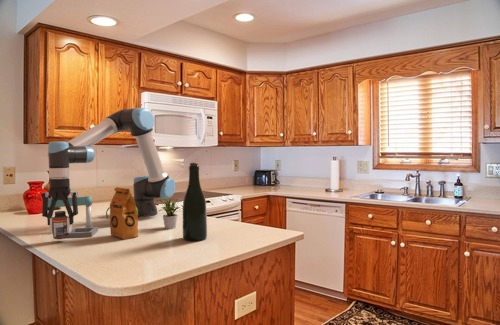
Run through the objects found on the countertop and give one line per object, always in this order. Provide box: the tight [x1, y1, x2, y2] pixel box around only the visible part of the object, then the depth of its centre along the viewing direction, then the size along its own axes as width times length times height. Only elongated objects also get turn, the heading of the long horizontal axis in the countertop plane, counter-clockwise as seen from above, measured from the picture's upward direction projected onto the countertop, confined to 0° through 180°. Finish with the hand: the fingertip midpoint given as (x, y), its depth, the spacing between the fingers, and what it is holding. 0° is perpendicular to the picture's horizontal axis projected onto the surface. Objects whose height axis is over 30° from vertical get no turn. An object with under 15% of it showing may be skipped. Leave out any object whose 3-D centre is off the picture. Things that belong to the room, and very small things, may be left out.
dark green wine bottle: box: [182, 162, 208, 242], centre depth 151 cm, size 10×10×33 cm
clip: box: [48, 195, 93, 208], centre depth 168 cm, size 21×3×4 cm, turn 111°
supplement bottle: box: [52, 210, 69, 240], centre depth 148 cm, size 6×6×11 cm
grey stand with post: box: [66, 205, 99, 239], centre depth 164 cm, size 11×18×12 cm, turn 10°
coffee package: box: [109, 186, 139, 240], centre depth 156 cm, size 10×12×22 cm
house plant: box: [157, 197, 182, 230], centre depth 173 cm, size 14×14×16 cm
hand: (61, 232), depth 148 cm, fingers closed on supplement bottle, 6 cm apart
